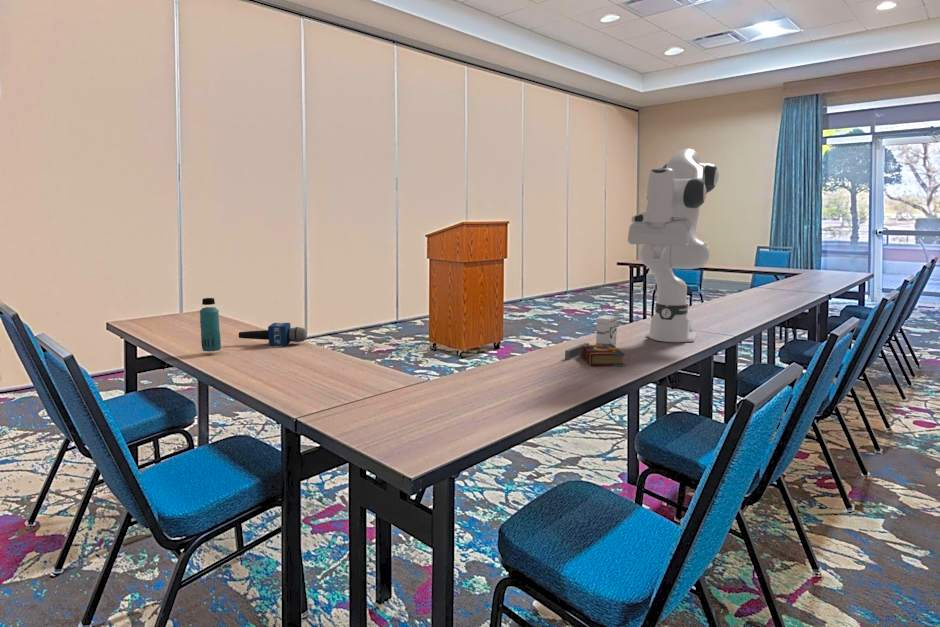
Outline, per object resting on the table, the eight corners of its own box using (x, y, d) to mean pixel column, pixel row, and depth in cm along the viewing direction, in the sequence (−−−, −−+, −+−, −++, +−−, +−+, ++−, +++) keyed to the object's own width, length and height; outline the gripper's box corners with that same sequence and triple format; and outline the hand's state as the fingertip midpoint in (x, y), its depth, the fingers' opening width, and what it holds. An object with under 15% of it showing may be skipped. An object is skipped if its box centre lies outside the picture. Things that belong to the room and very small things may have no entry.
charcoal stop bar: (584, 350, 228) (585, 342, 227) (588, 351, 227) (589, 343, 226) (565, 359, 215) (565, 350, 214) (568, 359, 214) (569, 351, 213)
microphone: (242, 323, 241) (307, 322, 242) (243, 342, 242) (308, 342, 243) (235, 326, 233) (303, 326, 234) (236, 347, 235) (304, 346, 236)
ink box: (608, 351, 227) (609, 319, 225) (595, 349, 230) (596, 317, 228) (616, 347, 234) (617, 315, 232) (603, 345, 237) (604, 314, 235)
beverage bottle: (218, 351, 228) (215, 296, 224) (224, 354, 222) (220, 298, 219) (199, 353, 224) (195, 297, 220) (204, 356, 218) (201, 299, 215)
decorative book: (590, 367, 205) (590, 352, 204) (579, 356, 220) (579, 342, 220) (624, 366, 205) (625, 351, 204) (611, 355, 221) (611, 341, 220)
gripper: (693, 217, 207) (691, 259, 209) (633, 217, 218) (632, 256, 221) (688, 217, 202) (685, 260, 204) (627, 217, 213) (625, 257, 216)
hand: (657, 258), depth 212 cm, fingers closed
